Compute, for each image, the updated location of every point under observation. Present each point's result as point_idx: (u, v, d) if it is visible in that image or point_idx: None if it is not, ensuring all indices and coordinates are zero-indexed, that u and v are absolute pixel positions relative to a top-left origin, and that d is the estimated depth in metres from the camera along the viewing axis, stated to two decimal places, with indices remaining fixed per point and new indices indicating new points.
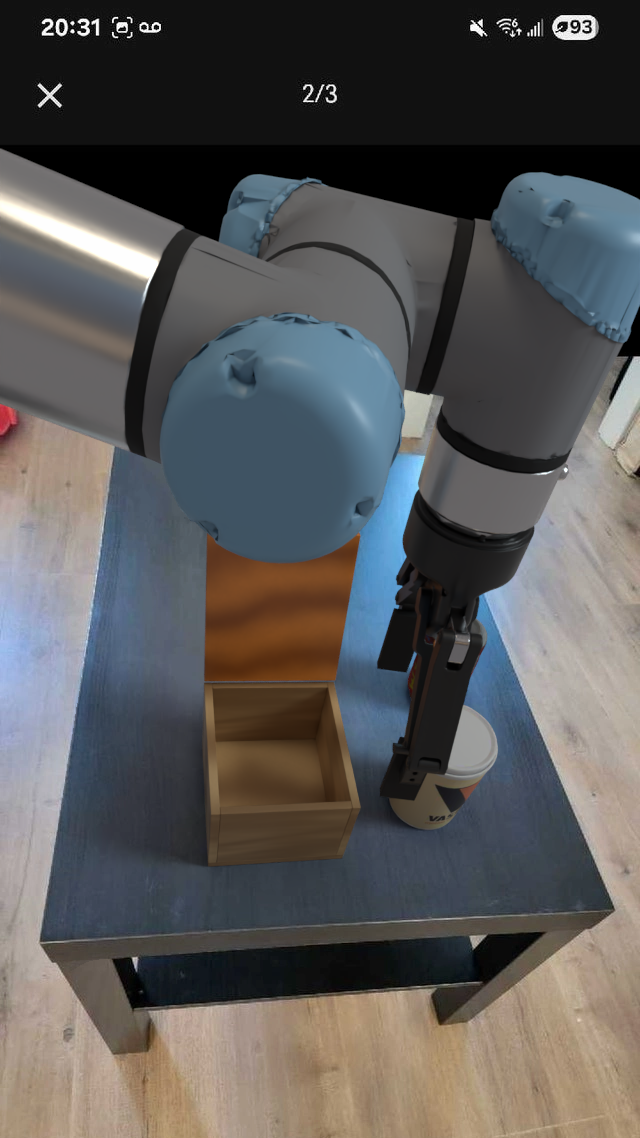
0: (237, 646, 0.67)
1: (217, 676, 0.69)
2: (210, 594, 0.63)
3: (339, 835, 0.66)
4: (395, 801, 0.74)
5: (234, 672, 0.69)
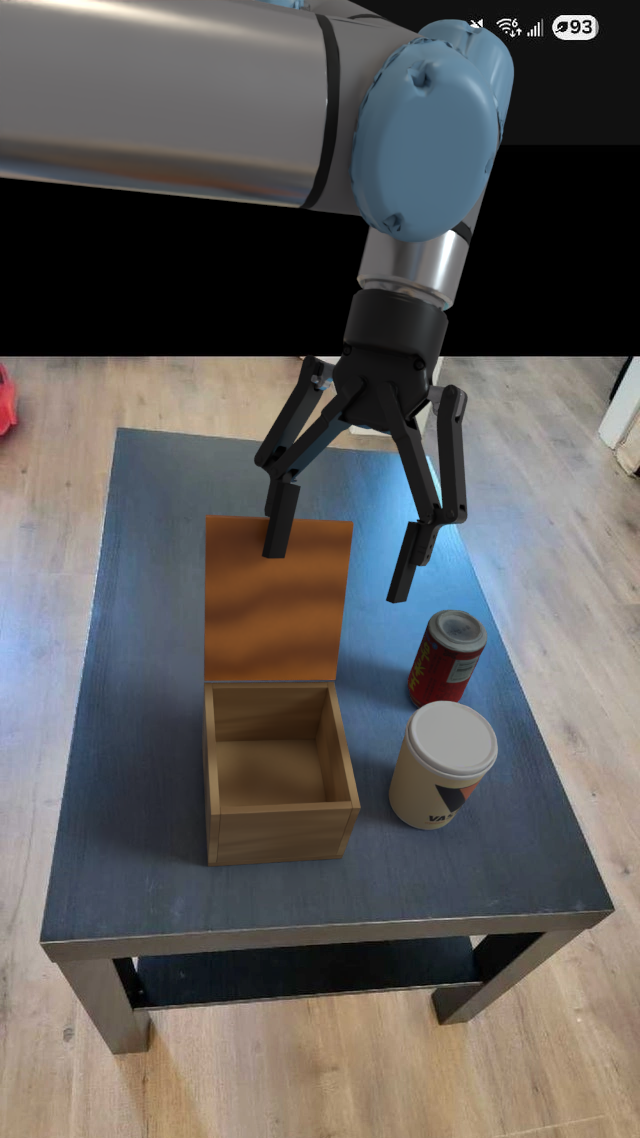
0: (236, 642, 0.67)
1: (217, 675, 0.69)
2: (209, 585, 0.64)
3: (339, 835, 0.66)
4: (395, 801, 0.74)
5: (234, 670, 0.69)
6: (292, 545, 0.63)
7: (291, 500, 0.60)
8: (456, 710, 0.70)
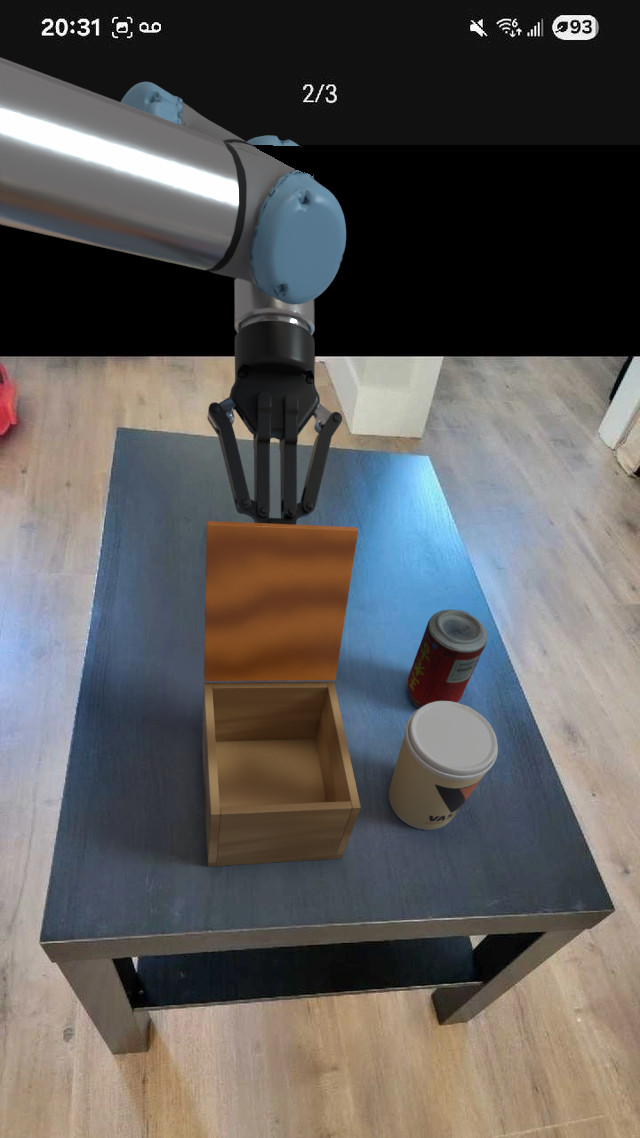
0: (237, 645, 0.67)
1: (217, 676, 0.69)
2: (210, 591, 0.63)
3: (339, 835, 0.66)
4: (395, 801, 0.74)
5: (234, 671, 0.69)
6: (295, 552, 0.62)
7: None
8: (456, 710, 0.70)
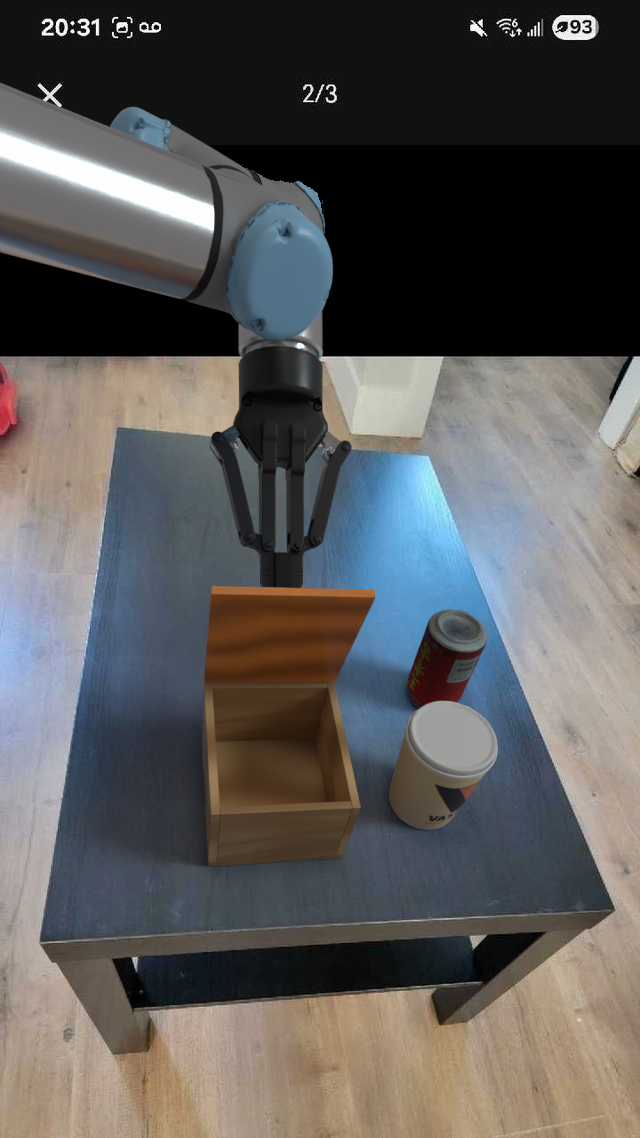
0: (238, 663, 0.66)
1: (217, 680, 0.69)
2: (212, 633, 0.60)
3: (339, 835, 0.66)
4: (395, 801, 0.74)
5: (234, 677, 0.69)
6: (305, 610, 0.58)
7: None
8: (456, 710, 0.70)
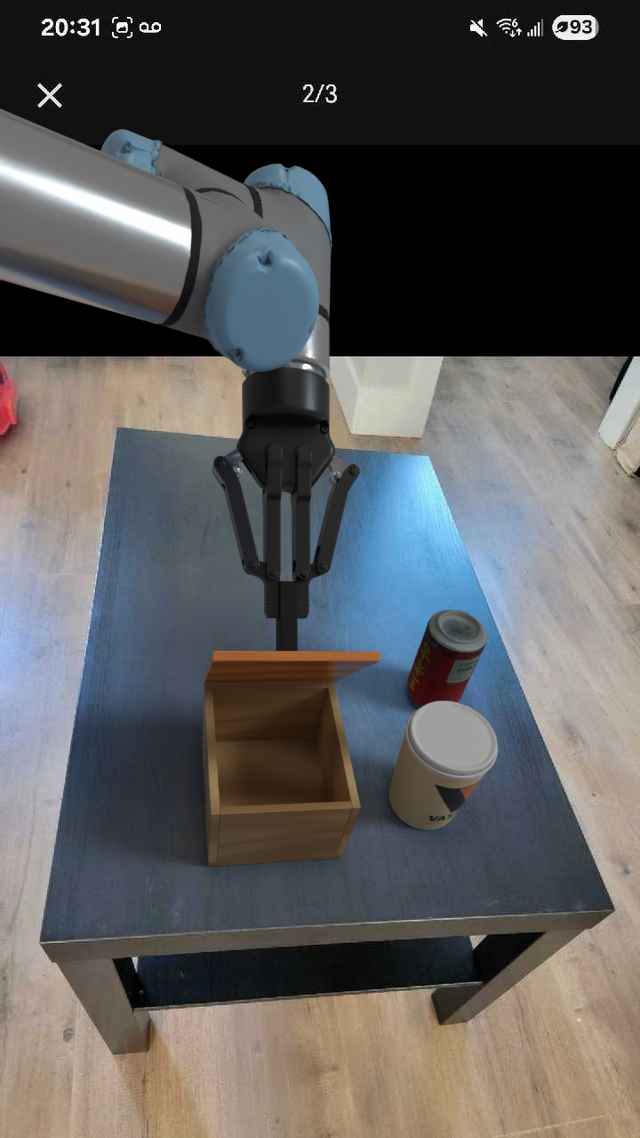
0: (239, 678, 0.66)
1: (217, 682, 0.69)
2: (213, 670, 0.59)
3: (339, 835, 0.66)
4: (395, 801, 0.74)
5: (234, 681, 0.69)
6: (308, 664, 0.57)
7: None
8: (456, 710, 0.70)
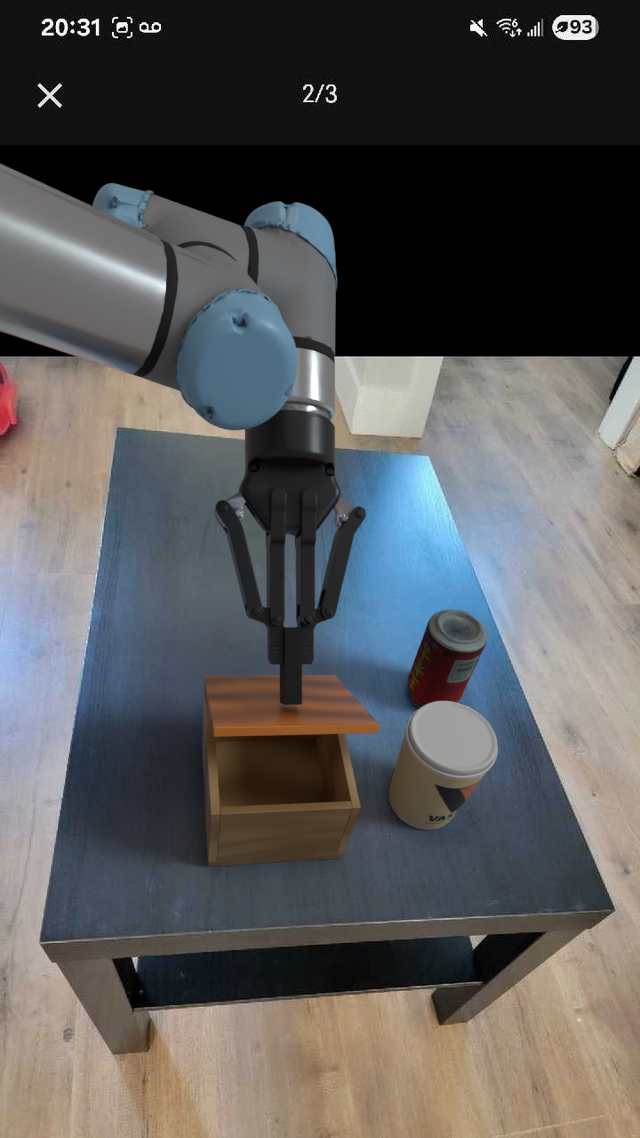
0: None
1: None
2: None
3: (339, 835, 0.66)
4: (395, 801, 0.74)
5: None
6: None
7: None
8: (456, 710, 0.70)
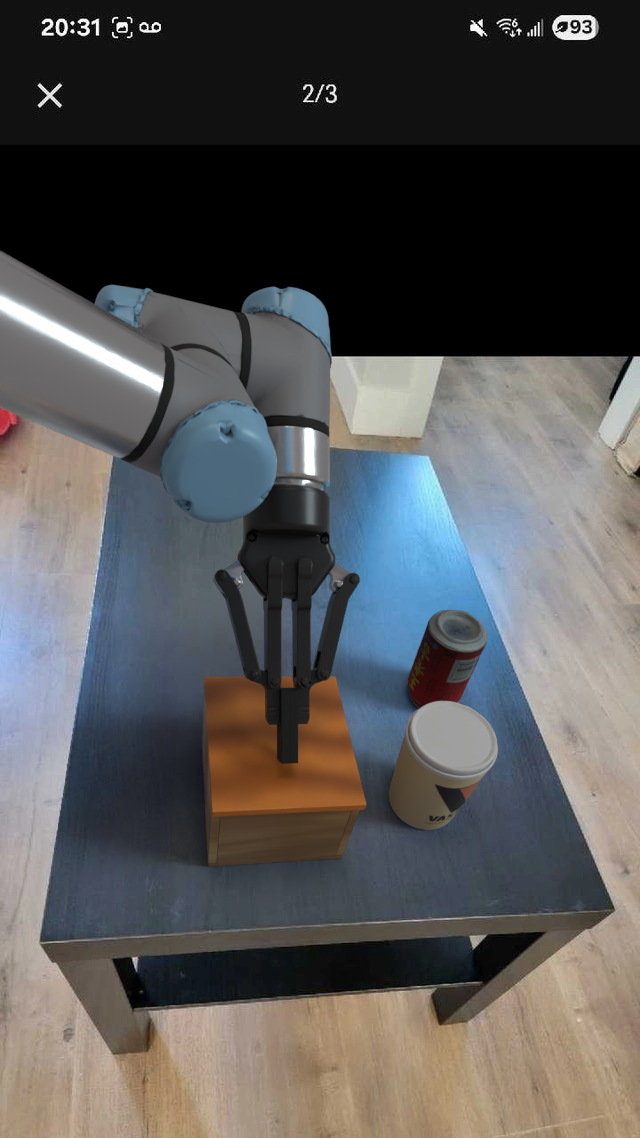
0: None
1: None
2: None
3: (339, 835, 0.66)
4: (395, 801, 0.74)
5: None
6: None
7: None
8: (456, 710, 0.70)
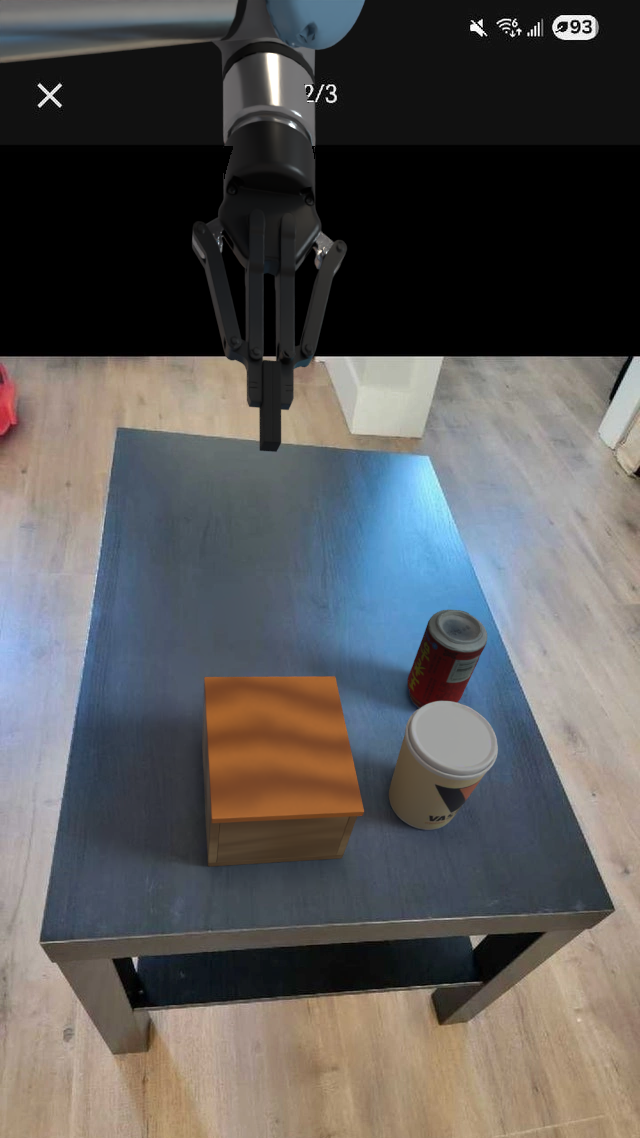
0: None
1: None
2: None
3: (339, 835, 0.66)
4: (395, 801, 0.74)
5: None
6: None
7: None
8: (456, 710, 0.70)
